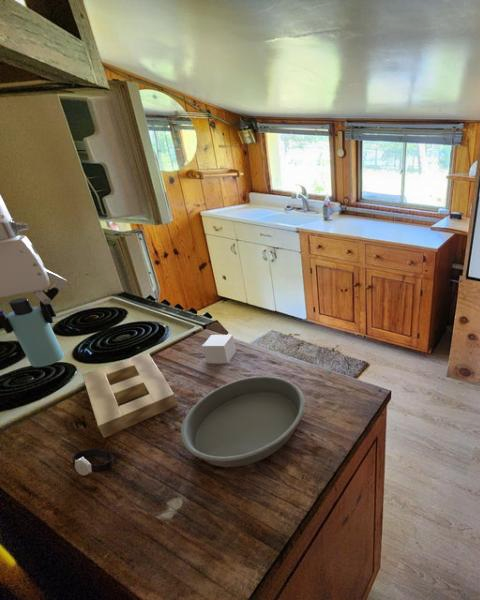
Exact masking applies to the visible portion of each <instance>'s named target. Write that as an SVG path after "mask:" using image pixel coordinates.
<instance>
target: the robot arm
mask: <svg viewBox="0 0 480 600" xmlns="http://www.w3.org/2000/svg"><path fill="white" fill-rule="evenodd" d="M29 229H30V228H29V227H28V225H27V223H26V221H25V222H24V221H23V222H20V221H16V220H13V218H12V217H11V214H10V212H9V210H8V208H7V205H6V203H5V201H4V199H3V197H2V195H1V194H0V299H1V298H7V297H11V296H12V297H13V296H18V295H23V294H28V293H29V294H30V293H32V294H33V295H34V296H35V297H36V298H37V299H38V300H39V307H40V308H41V309H42V311H43V314H44V316H45V318H46V320H47V322H48V323H49V324H54V318H56V317H57V313H56V311H55V309H54V307H53V305H52V301H53V300H54V299H55V297H56V296H57V295H58V294H59V292H60V291H61V290H63V289H64V288H65V287H66V286H68V285H69V282H68V280H67V278H64V277H62V276H61V275H59V274H57V273H54V272H52V271H50V270H49V269H47V268H46V266H45V264H44V262H43V260H42V259H41V257H40V255H39V253H38V251H37V249H36V248H35V246H34V245H33V244H32V242H31V241H30V240H29V238H28V237H27V236H26V235H24V234H20V233H21V232H23V231H29ZM50 281H51V282H53V284H52V286H51V282H50ZM45 289H47V290H45ZM7 314H8V313H7V312H6V311H5V309H4V308H1V307H0V330H2V329H4V331H5V333H6V334H11V333H12V332H13V330H12V328H11V326H10V324H9V322H8V320H7V319H6V315H7ZM13 333H14V332H13Z"/></svg>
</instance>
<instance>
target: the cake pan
mask: <svg viewBox="0 0 480 600" xmlns="http://www.w3.org/2000/svg"><path fill="white" fill-rule="evenodd" d="M305 405H306V403H305V397H304V394H303V392H302V391H301V389H300V388H299V387H298V386H297V384H295V383H293V382H291V381H289V380H287V379H285V378H281V377H278V376H270V375H269V376H268V375H262V376H261V375H260V376H251V377H244V378H240V379H237V380H235V381H230V382H228V383H225V384H223V385H222V386H219V387H217V388H215V389H214V390H212V391H211V392H209V393H207V394H206V395H205V396H203V397H201V399H199V400H198V401H197V402H196V403H195V404H194V405H193V406H192V407H191V408H190V409H189V411H188V412H187V414H186V415H185V417H184V419H183V421H182V424H181V428H180V440H181V443H182V445H183V447H184V448H185V449H186V450H187V451H188V453H190V454H191V455H193V456H195V457H197V458H199V459H202V460H203V461H204V462H206V463H207V464H210V465H212V466H215V467H221V468H238V467H242V466H243V467H244V466H247V465H251V464H253V463H256V462H257V463H258V462H259V461H261V460H263V459H266V458H268V457H269V456H271V455H273V454H274V453H276V452H277V451H278V450H280V449H281V448H283V446H284V445H285V444H286V443H287V442H288V441H289V440H290V439H291V437H292V436H293V434H294V432H295V430H296V429H297V427H298V424H299V423H300V420H301V419H302V417H303V415H304V411H305Z"/></svg>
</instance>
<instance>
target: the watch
mask: <svg viewBox="0 0 480 600" xmlns="http://www.w3.org/2000/svg"><path fill="white" fill-rule="evenodd" d="M91 457H92V458H93V457H98V458H99V457H100V458H104V459H106V460H109V461H108V462H106V463H102V464H97V465H96V464H95V465H94V464H92V463H90V461H89V460H88V459H86V458H91ZM71 458H72V464H73V466H74V468H75V470H76V472H77V473H78V474H79V475H81V476H86V475H88V474H92V473H104V472H106V471H109V470H110V469H112V467H113V466H114V464H115V461H114V455H113V453H112V452H111V451H109V450H107V449H99V448H92V449H91V448H90V449H85V450H81V451H78V452H76V453H75V454H73V455H72V457H71Z"/></svg>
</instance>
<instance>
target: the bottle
mask: <svg viewBox="0 0 480 600" xmlns="http://www.w3.org/2000/svg"><path fill="white" fill-rule="evenodd" d="M8 304H9V306H10V308H11V309H12V311H11V312H9V313H6V314H7V315H6V319H7V320H8V322H9V324H10V326H11V328H12V330H13V334H14V336H15V337H16V339H17V341H18V343H19V346H21V349H22V351H23V352H24V355H25V356H26V358H27V360H28V362H29V364H30V365H31V367H33V368H42V367H46V366H51V365H53V364H56V363H58V362H60V361H61V360H63V359H64V358H65V354H64V351H63V349H62V347H61V345H60V343H59V341H58V339H57V336H56V334H55V333H54V331H53V328H52V326H51V323H48V322H47V320H46V318H45V316H44V314H43V311H42V309H41V307H40V306H32V305H31V302H30V300H29V298H27V297H21V298H16V299H12V300H9V302H8Z"/></svg>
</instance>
